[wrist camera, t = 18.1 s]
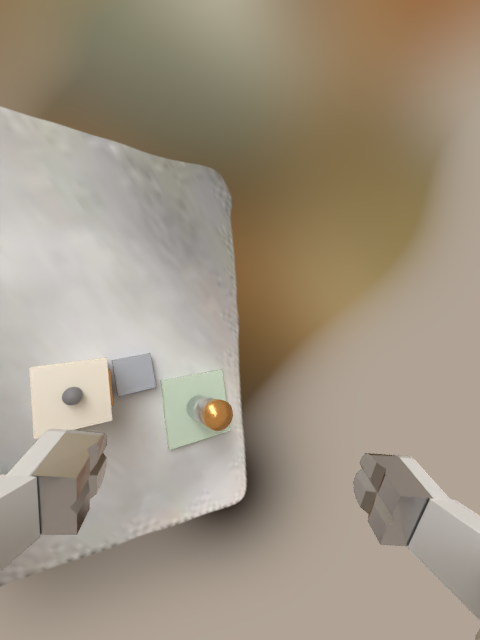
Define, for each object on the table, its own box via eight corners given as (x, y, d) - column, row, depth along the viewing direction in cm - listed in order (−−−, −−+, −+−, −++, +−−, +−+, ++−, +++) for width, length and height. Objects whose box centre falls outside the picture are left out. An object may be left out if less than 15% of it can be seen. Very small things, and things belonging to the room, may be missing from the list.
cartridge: (188, 423, 49) (208, 435, 40) (184, 398, 49) (203, 404, 41) (211, 416, 51) (235, 425, 43) (207, 391, 52) (229, 396, 43)
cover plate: (117, 395, 46) (118, 396, 44) (111, 360, 46) (112, 360, 44) (153, 386, 49) (156, 387, 47) (147, 353, 49) (150, 353, 47)
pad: (167, 448, 48) (169, 450, 47) (160, 380, 49) (161, 380, 48) (227, 429, 54) (230, 430, 53) (219, 369, 55) (222, 369, 54)
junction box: (48, 421, 40) (31, 442, 29) (44, 368, 41) (26, 367, 29) (110, 408, 44) (116, 421, 33) (105, 360, 45) (110, 356, 34)
